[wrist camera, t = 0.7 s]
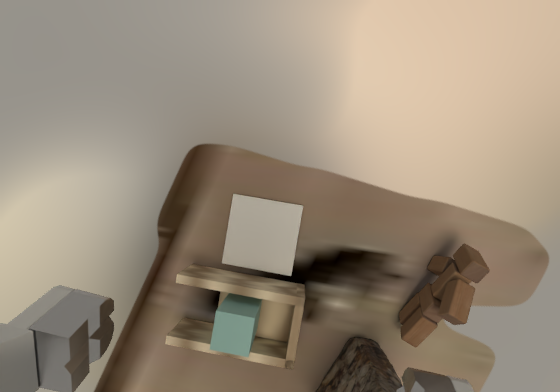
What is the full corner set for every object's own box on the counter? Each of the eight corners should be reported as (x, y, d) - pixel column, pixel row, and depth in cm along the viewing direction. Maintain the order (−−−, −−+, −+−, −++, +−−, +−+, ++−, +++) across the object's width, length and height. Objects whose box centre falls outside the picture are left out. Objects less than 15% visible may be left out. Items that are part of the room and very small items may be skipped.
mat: (303, 205, 53) (303, 205, 53) (291, 274, 54) (291, 276, 53) (234, 193, 54) (233, 193, 53) (222, 262, 54) (221, 263, 53)
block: (262, 296, 52) (255, 318, 43) (257, 329, 52) (248, 357, 43) (230, 290, 52) (216, 310, 43) (225, 322, 52) (209, 349, 43)
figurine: (396, 296, 56) (456, 228, 50) (409, 304, 56) (471, 236, 50) (402, 359, 44) (482, 279, 38) (419, 368, 44) (502, 290, 38)
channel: (304, 284, 53) (305, 298, 46) (293, 346, 54) (292, 369, 47) (192, 263, 54) (177, 274, 47) (182, 325, 55) (165, 344, 48)
